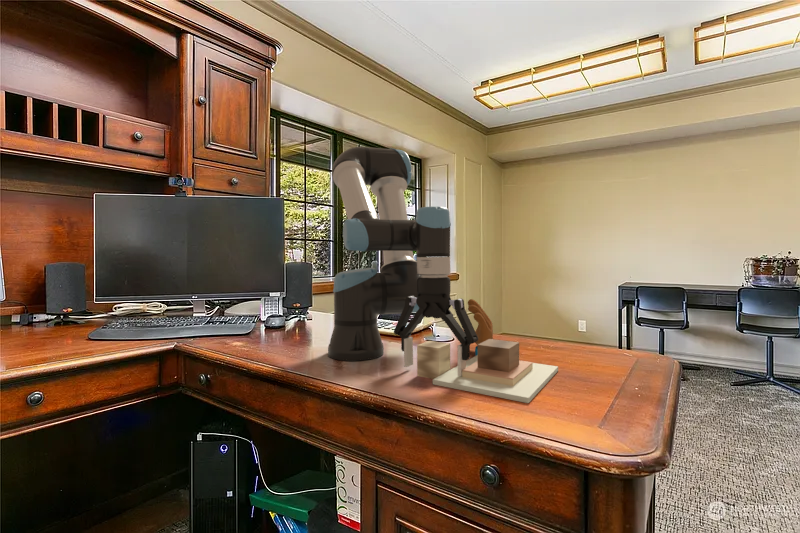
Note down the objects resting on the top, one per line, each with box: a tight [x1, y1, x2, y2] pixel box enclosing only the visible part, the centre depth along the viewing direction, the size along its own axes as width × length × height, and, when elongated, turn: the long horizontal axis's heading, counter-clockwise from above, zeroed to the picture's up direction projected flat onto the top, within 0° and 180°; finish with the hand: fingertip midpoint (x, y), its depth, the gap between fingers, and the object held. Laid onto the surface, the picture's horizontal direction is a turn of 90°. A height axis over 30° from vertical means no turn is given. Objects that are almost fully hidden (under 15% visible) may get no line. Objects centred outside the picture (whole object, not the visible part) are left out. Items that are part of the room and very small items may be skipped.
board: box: [432, 355, 559, 404], centre depth 89 cm, size 20×24×2 cm
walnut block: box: [477, 338, 520, 372], centre depth 89 cm, size 7×7×5 cm
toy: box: [467, 298, 494, 356], centre depth 110 cm, size 12×7×15 cm, turn 171°
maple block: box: [416, 340, 451, 380], centre depth 92 cm, size 6×6×7 cm
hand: (434, 370), depth 91 cm, fingers open, 13 cm apart
